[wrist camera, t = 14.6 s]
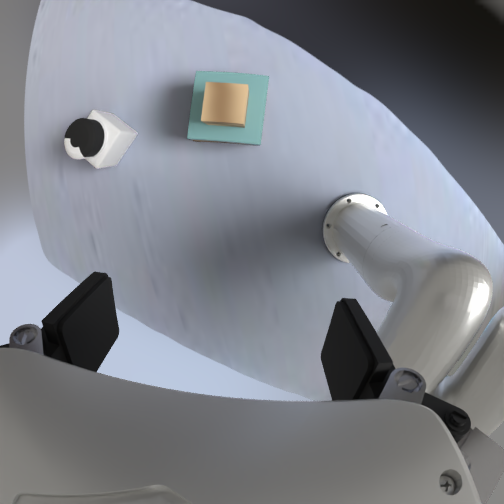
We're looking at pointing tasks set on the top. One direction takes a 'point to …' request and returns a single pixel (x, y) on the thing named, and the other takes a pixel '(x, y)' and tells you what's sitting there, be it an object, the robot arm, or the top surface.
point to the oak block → (225, 104)
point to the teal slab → (227, 133)
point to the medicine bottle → (99, 139)
